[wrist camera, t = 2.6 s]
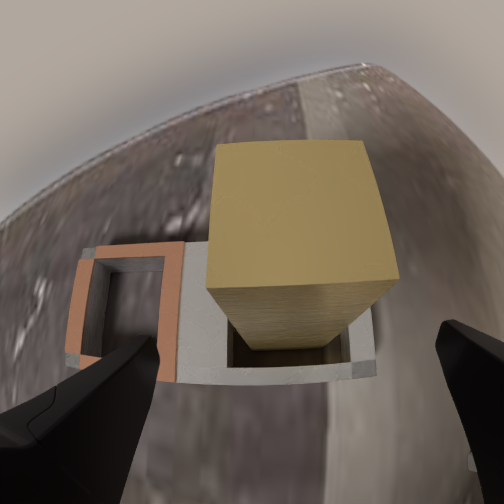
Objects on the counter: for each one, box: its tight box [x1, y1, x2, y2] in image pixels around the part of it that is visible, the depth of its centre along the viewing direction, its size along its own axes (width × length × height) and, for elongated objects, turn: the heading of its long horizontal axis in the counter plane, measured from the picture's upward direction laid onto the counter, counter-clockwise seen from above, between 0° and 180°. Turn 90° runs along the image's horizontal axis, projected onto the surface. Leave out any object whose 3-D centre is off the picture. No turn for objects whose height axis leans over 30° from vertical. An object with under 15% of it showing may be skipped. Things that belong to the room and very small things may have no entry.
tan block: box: [206, 140, 400, 351], centre depth 13 cm, size 4×4×13 cm
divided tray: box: [65, 241, 376, 385], centre depth 18 cm, size 20×9×3 cm, turn 90°
